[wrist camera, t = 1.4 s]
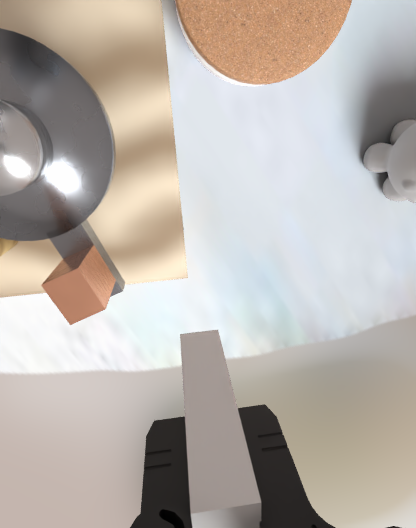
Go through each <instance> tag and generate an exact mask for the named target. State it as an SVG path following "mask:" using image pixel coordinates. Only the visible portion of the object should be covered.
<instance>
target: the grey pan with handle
mask: <svg viewBox="0 0 416 528" xmlns="http://www.w3.org/2000/svg"><path fill="white" fill-rule="evenodd" d="M115 161H116V148H115V139H114V134H113V129H112V126H111V123H110V119H109V116H108V114H107V112H106V110H105V107H104V105H103V103H102V102H101V100H100V98H99V96H98V95H97V93H96V91H95V90H94V89H93V87H92V86H91V85H90V83H89V82H88V81H87V80H86V79H85V77H84V76H83V75H82V74H81V73H80V72H79V71H78V70H77V69H76V68H75V67H74V66H72V65H71V64H70V63H69V62H68V61H67V60H65V59H64V58H63V57H61V56H60V55H58V54H57V53H55V52H54V51H52V50H51V49H49V48H48V47H46V46H45V45H44V44H42V43H40V42H38V41H36V40H34V39H32V38H30V37H28V36H25V35H22V34H20V33H17V32H14V31H10V30H6V29H1V28H0V238H3V239H7V240H15V241H38V240H45V239H50V241H51V242H52V243H53V245H54V246H55V248H56V249H57V251H58V252H59V254H60V255H61V257H62V258H63V259H62V261H61V262H60V263H59V264H58V265H57V267H56V268H55V269H54V270H53V271H52V273H51V274H50V275H49V276H48V277H47V279H46V280H45V281H44V282H43V283H42V285H41V286H42V287H43V289H44V290H45V291H46V293H47V294H48V295H49V297H50V298H51V299H52V301H53V302H54V303H55V305H56V306H57V307H58V309H59V310H60V312H61V313H62V314H63V316H64V317H65V318H66V320H67V321H68V322H69V324H70V325H71V324H74V323H76V322H78V321H80V320H82V319H85V318H87V317H89V316H91V315H94V314H96V313H98V312H100V311H102V310H105V309H106V306H107V304H108V301H109V298H110V297H111V296H113V295H115V294H117V293H120V292H122V291H123V289H124V285H125V281H124V279H123V278H122V276H121V275H120V273H119V271H118V270H117V268H116V266H115V265H114V263H113V261H112V260H111V258H110V257H109V255H108V253H107V252H106V250H105V248H104V247H103V245H102V243H101V242H100V240H99V239H98V237H97V235H96V234H95V232H94V230H93V229H92V227H91V225H90V224H89V222H88V221H87V218H88V217H89V216H90V215H91V214H92V213H93V212H94V211H95V210H96V209H97V208H98V206H99V205H100V204H101V202H102V201H103V199H104V198H105V196H106V194H107V192H108V190H109V188H110V185H111V182H112V179H113V175H114V170H115Z"/></svg>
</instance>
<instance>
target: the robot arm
mask: <svg viewBox="0 0 416 528" xmlns="http://www.w3.org/2000/svg"><path fill="white" fill-rule="evenodd" d="M180 339H181V356H182V373H183V390H184V408H185V417H178V418H171V419H163V420H156V421H154V422H153V424H152V426H151V428H150V430H149V432H148V434H147V436H146V450H145V462H144V475H143V476H144V477H143V489H142V502H141V514H140V515H139V516H138V517H137V518H136V519H135V521H134V522H133V524H132V526H131V527H130V528H335V527H333V526H332V525H330V524H328V523H327V522H325V521H324V520H323V519H322V518H321V517H320V516H318V514H317V513H316V512H315V510H314V509H313V508H312V506H311V504H310V502H309V501H308V498H307V496H306V493H305V491H304V488H303V485H302V483H301V480H300V477H299V475H298V472H297V469H296V467H295V464H294V462H293V459H292V456H291V454H290V451H289V449H288V447H287V443H286V441H285V438H284V435H282V430H281V428H280V425H279V422H278V420H277V417H276V416H275V415H274V414H273V412H272V411H271V410H270V409H268V407H267V406H266V405H258V406H251V407H243V408H237V404H236V400H235V396H234V392H233V388H232V384H231V380H230V376H229V372H228V368H227V364H226V360H225V356H224V352H223V348H222V344H221V340H220V336H219V332H218V330H212V331H204V332H195V333H187V334H180ZM387 528H400V527H395V526H392V527H387Z"/></svg>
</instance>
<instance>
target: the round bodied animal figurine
mask: <svg viewBox="0 0 416 528" xmlns="http://www.w3.org/2000/svg"><path fill="white" fill-rule="evenodd" d="M390 140H391V144H392V145H391V144H387V143H376V144H373V145H371V146H370V147H369V148H368V149H367V150H366V152H365V155H364V159H363V163H364V166H365V168H366V169H368V170H369V171H371V172H377V173H380V172H388V176H389V177H388V178H387V179H386V180H385V181H384V184H383V193H384V195H385V197H386V198H388V199H390V200H393V201H405V200H408V201H411V202H413V203H416V120H413V119H408V120H403V121H401V122H399V123H398V124H396V125H395V127H394V128H393V130H392V132H391V137H390Z"/></svg>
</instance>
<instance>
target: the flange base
mask: <svg viewBox="0 0 416 528" xmlns="http://www.w3.org/2000/svg"><path fill="white" fill-rule="evenodd" d="M0 28H1V29H6V30H10V31H14V32H17V33H20V34H22V35H25V36H28V37H30V38H32V39H34V40H36V41H38V42H40V43H42V44H44V45H45V46H46V47H48V48H49V49H51V50H52V51H54V52H55V53H57V54H58V55H60V56H61V57H63V58H64V59H65V60H67V61H68V62H69V63H70V64H71V65H72V66H74V67H75V68H76V69H77V70H78V71H79V72H80V73H81V74H82V75H83V76H84V77H85V79H86V80H87V81H88V82H89V83H90V85H91V86H92V87H93V89H94V90H95V91H96V93H97V95H98V96H99V98H100V100H101V102H102V103H103V105H104V107H105V110H106V112H107V114H108V116H109V119H110V123H111V126H112V129H113V134H114V139H115V148H116V161H115V170H114V175H113V179H112V182H111V185H110V188H109V190H108V192H107V194H106V196H105V198H104V199H103V201H102V202H101V204H100V205H99V206H98V208H97V209H96V210H95V211H94V212H93V213H92V214H91V215H90V216H89V217H88V218H87V221H88V222H89V224H90V225H91V227H92V229H93V230H94V232H95V234H96V235H97V237H98V239H99V240H100V242H101V243H102V245H103V247H104V248H105V250H106V252H107V253H108V255H109V257H110V258H111V260H112V261H113V263H114V265H115V266H116V268H117V270H118V271H119V273H120V275H121V276H122V278H123V279H124V281H125V284H135V283H144V282H154V281H164V280H173V279H183V278H188V275H187V265H186V254H185V244H184V233H183V223H182V212H181V202H180V191H179V180H178V170H177V159H176V149H175V138H174V128H173V117H172V107H171V96H170V86H169V75H168V65H167V54H166V44H165V33H164V22H163V12H162V1H161V0H0ZM62 259H63V258H62V257H61V255H60V254H59V252H58V251H57V249H56V248H55V246H54V245H53V243H52V242H51V241H50V239H45V240H38V241H15V240H7V239H3V238H0V297H9V296H19V295H29V294H38V293H46V291H45V290H44V289H43V287H42V286H41V285H42V283H43V282H44V281H45V280H46V279H47V277H48V276H49V275H50V274H51V273H52V271H53V270H54V269H55V268H56V267H57V265H58V264H59V263H60V262H61V261H62Z"/></svg>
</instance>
